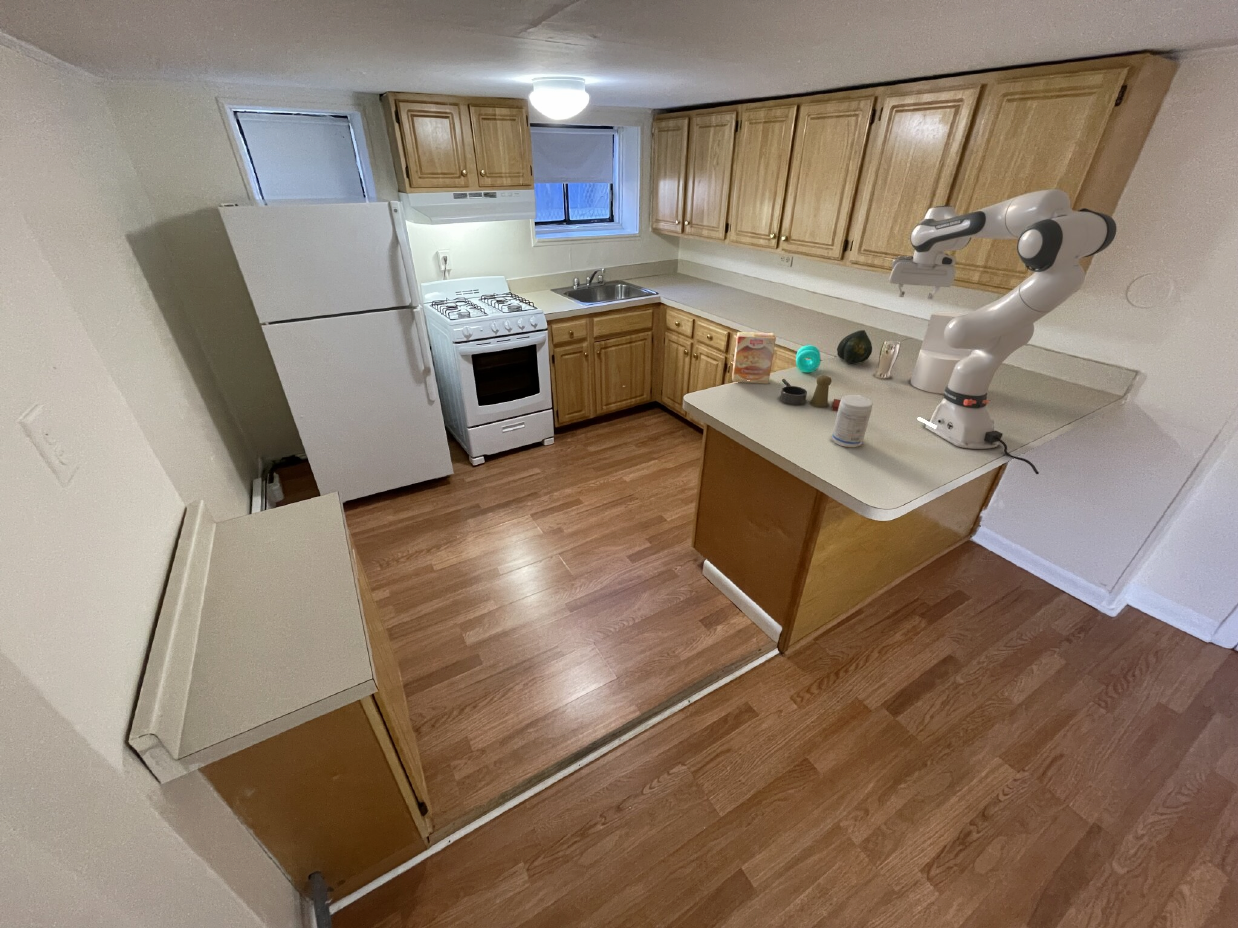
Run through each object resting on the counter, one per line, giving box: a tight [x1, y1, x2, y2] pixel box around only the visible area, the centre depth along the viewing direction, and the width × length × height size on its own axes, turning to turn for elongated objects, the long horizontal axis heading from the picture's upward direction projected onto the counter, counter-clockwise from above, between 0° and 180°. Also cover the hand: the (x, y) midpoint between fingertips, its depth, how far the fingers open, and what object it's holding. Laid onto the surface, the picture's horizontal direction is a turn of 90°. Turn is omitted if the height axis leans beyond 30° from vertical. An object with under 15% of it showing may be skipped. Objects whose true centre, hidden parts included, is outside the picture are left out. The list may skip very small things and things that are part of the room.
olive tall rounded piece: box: [810, 374, 832, 408], centre depth 191 cm, size 6×6×11 cm
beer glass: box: [874, 339, 902, 380], centre depth 214 cm, size 7×7×15 cm
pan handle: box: [781, 378, 792, 387], centre depth 202 cm, size 8×1×1 cm, turn 3°
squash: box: [836, 329, 873, 365], centre depth 232 cm, size 14×15×15 cm
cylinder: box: [910, 311, 973, 395], centre depth 202 cm, size 17×17×28 cm
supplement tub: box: [831, 394, 874, 448], centre depth 164 cm, size 10×10×15 cm
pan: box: [779, 385, 808, 406], centre depth 196 cm, size 9×9×4 cm
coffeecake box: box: [731, 331, 777, 384], centre depth 210 cm, size 15×7×20 cm, turn 82°
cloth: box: [831, 398, 841, 412], centre depth 190 cm, size 8×7×1 cm
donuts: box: [795, 344, 821, 374], centre depth 223 cm, size 10×10×10 cm
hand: (915, 298), depth 185 cm, fingers open, 8 cm apart
